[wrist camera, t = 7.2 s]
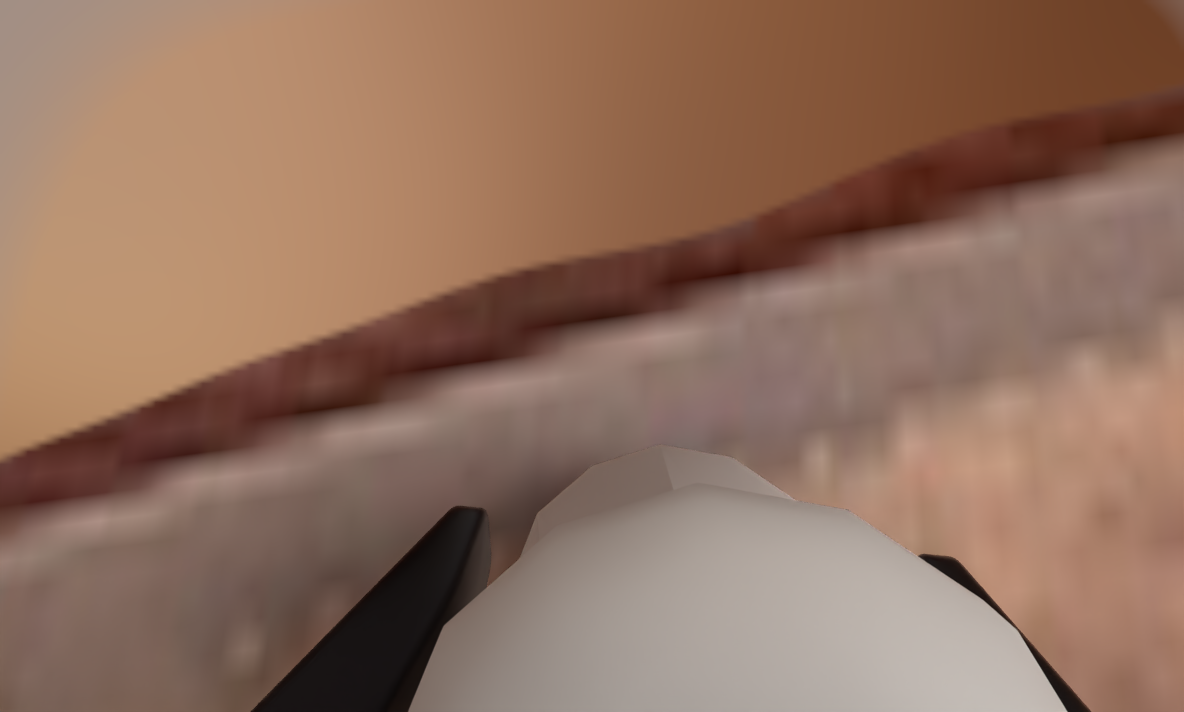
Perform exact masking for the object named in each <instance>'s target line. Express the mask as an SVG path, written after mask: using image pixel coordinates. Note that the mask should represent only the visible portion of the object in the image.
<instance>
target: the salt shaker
mask: <svg viewBox="0 0 1184 712" xmlns="http://www.w3.org/2000/svg"><path fill="white" fill-rule="evenodd" d="M408 712H1067V710H1066V709H1065V707H1064V705H1063V704H1062V702H1061V701H1060V699H1059V697H1058V696H1057V694H1056V692H1055V691H1054V689H1053V688H1052V686H1051V684H1050V683H1049V681H1048V679H1047V678H1046V676H1045V674H1044V673H1043V671H1042V670H1041V668H1040V666H1039V665H1038V663H1037V661H1036V660H1035V658H1034V657H1033V655H1032V653H1031V652H1030V650H1029V648H1028V647H1027V645H1026V644H1025V642H1024V640H1023V639H1022V637H1021V635H1020V634H1019V632H1018V630H1016V629H1015V628H1014V627H1013V626H1012V625H1011V624H1010V623H1008V622H1007V621H1006V620H1005V619H1004V618H1003V617H1002V616H1001V615H999V614H998V613H997V612H996V611H995V610H994V609H993V608H991V607H990V606H989V605H988V604H987V603H986V602H985V601H984V600H982V599H981V598H979V597H978V596H976V595H975V594H973V593H972V592H970V591H969V590H967V589H966V588H964V587H963V586H961V585H960V584H958V583H957V582H955V581H954V580H952V579H951V578H949V577H948V576H946V575H945V574H943V573H942V572H940V571H939V570H937V569H936V568H934V567H933V566H931V565H930V564H928V563H927V562H925V561H924V560H922V559H921V558H919V557H918V556H916V555H915V554H913V553H912V552H910V551H909V550H907V549H906V548H904V547H903V546H901V545H900V544H898V543H897V542H895V541H894V540H892V539H891V538H889V537H888V536H886V535H885V534H883V533H882V532H880V531H879V530H877V529H876V528H874V527H873V526H871V525H870V524H868V523H867V522H865V521H864V520H862V519H861V518H859V517H858V516H856V515H855V514H853V513H852V512H850V511H849V510H847V509H841V508H836V507H830V506H825V505H819V504H814V503H808V502H802V501H797V500H794V499H793V498H792V497H790V496H789V495H787V494H786V493H784V492H783V491H781V490H780V489H778V488H777V487H775V486H774V485H772V484H771V483H770V482H768V481H767V480H765V479H764V478H762V477H761V476H759V475H758V474H756V473H755V472H753V471H752V470H750V469H749V468H747V467H746V466H744V465H743V464H742V463H740V462H739V461H737V460H736V459H734V458H733V457H728V456H722V455H717V454H711V453H706V452H700V451H694V450H689V449H683V448H678V447H672V446H666V445H661V444H659V445H656V446H653V447H650V448H647V449H643V450H640V451H637V452H634V453H631V454H627V455H624V456H621V457H618V458H615V459H612V460H608V461H605V462H602V463H599V464H596V465H592V466H591V467H590V468H589V469H588V470H586V471H585V472H584V473H583V474H582V475H581V476H580V477H578V478H577V479H576V480H575V481H574V482H573V483H571V484H570V485H569V486H568V487H567V488H566V489H565V490H563V491H562V492H561V493H560V494H559V495H558V496H557V497H555V498H554V499H553V500H552V501H551V502H550V503H548V504H547V505H546V506H545V507H544V508H543V509H542V510H540V511H539V512H538V513H537V515H536V518H535V520H534V523H533V525H532V528H531V530H530V533H529V536H528V538H527V541H526V543H525V546H524V549H523V551H522V554H521V556H520V558H519V559H518V560H517V561H516V562H515V563H514V564H513V565H512V566H510V567H509V568H508V569H507V570H506V571H505V572H504V573H503V574H501V575H500V576H499V577H498V578H497V579H496V580H495V581H494V582H492V583H491V584H490V585H489V586H488V587H487V588H486V589H485V590H483V591H482V592H481V593H480V594H479V595H478V596H477V597H476V598H474V599H473V600H472V601H471V602H470V603H469V604H468V605H467V606H465V607H464V608H463V609H462V610H461V611H460V612H459V613H458V614H456V615H455V616H454V617H453V618H452V619H451V620H450V621H448V622H447V623H446V624H445V625H444V626H443V628H442V631H441V633H440V635H439V638H438V640H437V643H436V645H435V647H434V650H433V652H432V655H431V657H430V659H429V662H428V664H427V667H426V669H425V672H424V674H423V676H422V679H421V681H420V684H419V686H418V689H417V691H416V694H415V696H414V699H413V701H412V703H411V706H410V708H409V711H408Z"/></svg>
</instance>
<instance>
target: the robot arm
mask: <svg viewBox="0 0 1184 712" xmlns="http://www.w3.org/2000/svg"><path fill="white" fill-rule="evenodd" d="M918 557H919V558H921V559H922V560H924V561H925V562H927V563H928V564H930V565H931V566H933V567H934V568H936V569H937V570H939V571H940V572H942V573H943V574H945V575H946V576H948V577H949V578H951V579H952V580H954V581H955V582H957V583H958V584H960V585H961V586H963V587H964V588H966V589H967V590H969V591H970V592H972V593H973V594H975V595H976V596H978V597H979V598H981V599H982V600H984V601H985V602H986V603H987V604H988V605H989V606H990V607H991V608H993V609H994V610H995V611H996V612H997V613H998V614H999V615H1001V616H1002V617H1003V618H1004V619H1005V620H1006V621H1007V622H1008V623H1010V624H1011V625H1012V626H1013V627H1014V628H1015V629H1016V630H1018V632H1019V634H1020V635H1021V637H1022V639H1023V640H1024V642H1025V644H1026V645H1027V647H1028V648H1029V650H1030V652H1031V653H1032V655H1033V657H1034V658H1035V660H1036V661H1037V663H1038V665H1039V666H1040V668H1041V670H1042V671H1043V673H1044V674H1045V676H1046V678H1047V679H1048V681H1049V683H1050V684H1051V686H1052V688H1053V689H1054V691H1055V692H1056V694H1057V696H1058V697H1059V699H1060V701H1061V702H1062V704H1063V705H1064V707H1065V709H1066V710H1067V712H1091V711H1090V710H1089V708H1088V707H1087V706H1086V705H1085V704H1084V703H1083V702H1082V700H1081V699H1080V698H1079V697H1078V696H1077V695H1076V694H1075V693H1074V691H1073V690H1072V689H1071V688H1070V687H1069V686H1068V685H1067V683H1066V682H1065V681H1064V680H1063V679H1062V678H1061V677H1060V675H1059V674H1058V673H1057V672H1056V671H1055V670H1054V669H1053V668H1052V666H1051V665H1050V664H1049V663H1048V662H1047V661H1046V660H1045V658H1044V657H1043V656H1042V655H1041V654H1040V653H1039V652H1038V650H1037V649H1036V648H1035V647H1034V646H1033V645H1032V644H1031V642H1030V641H1029V640H1028V639H1027V638H1026V637H1025V636H1024V635H1023V633H1022V632H1021V631H1020V630H1019V629H1018V628H1017V627H1016V625H1015V624H1014V623H1013V622H1012V621H1011V620H1010V619H1009V617H1008V616H1007V615H1006V614H1005V613H1004V612H1003V611H1002V609H1001V608H1000V607H999V606H998V605H997V604H996V603H995V602H994V600H993V599H992V598H991V597H990V596H989V595H988V594H987V592H986V591H985V590H984V589H983V588H982V587H981V586H980V584H979V583H978V582H977V581H976V580H975V579H974V578H973V576H972V575H971V574H970V573H969V572H968V571H967V570H966V569H965V567H964V566H963V565H962V564H961V563H960V562H959V561H958V560H956V559H955V558H953V557H949V556H941V555H931V554H920V555H919V556H918ZM490 565H491V544H490V532H489V519H488V514H487V512H486V510H485V509H482V508H476V507H467V506H455V507H453V508H451V509H450V510H449V511H448V512H447V513H446V514H445V515H444V516H443V517H442V518H441V519H440V520H439V521H438V522H437V523H436V524H435V525H434V526H433V527H432V528H431V529H430V530H429V531H428V532H427V533H426V534H425V535H424V536H423V537H422V538H421V539H420V540H419V541H418V542H417V543H416V544H415V545H414V546H413V547H412V548H411V550H410V551H409V552H408V553H407V554H406V555H405V556H404V557H403V558H402V559H401V560H400V561H399V562H398V563H397V564H396V565H395V566H394V567H393V568H392V569H391V570H390V571H389V572H388V573H387V574H386V575H385V576H384V577H383V578H382V579H381V580H380V581H379V582H378V583H377V584H376V585H375V586H374V587H373V588H372V589H371V590H370V591H369V592H368V593H367V594H366V595H365V596H364V597H363V598H362V599H361V600H360V601H359V602H358V603H357V604H356V605H355V606H354V607H353V608H352V609H351V610H350V611H349V612H348V613H347V614H346V615H345V616H344V617H343V618H342V619H341V620H340V621H339V623H338V624H337V625H336V626H335V627H334V628H333V629H332V630H331V631H330V632H329V633H328V634H327V635H326V636H325V637H324V638H323V639H322V640H321V641H320V642H319V643H318V644H317V645H316V646H315V647H314V648H313V649H312V650H311V651H310V652H309V653H308V654H307V655H306V656H305V657H304V658H303V659H302V660H301V661H300V662H299V663H298V664H297V665H296V666H295V667H294V668H293V669H292V670H291V671H290V672H289V673H288V674H287V675H286V676H285V677H284V678H283V679H282V680H281V681H280V682H279V683H278V684H277V685H276V686H275V687H274V688H273V689H272V690H271V691H270V692H269V693H268V695H267V696H266V697H265V698H264V699H263V700H262V701H261V702H260V703H259V704H258V705H257V706H256V707H255V708H254V709H253V710H252V711H251V712H408V711H409V708H410V706H411V703H412V701H413V699H414V696H415V694H416V691H417V689H418V686H419V684H420V681H421V679H422V676H423V674H424V672H425V669H426V667H427V664H428V662H429V659H430V657H431V655H432V652H433V650H434V647H435V645H436V643H437V640H438V638H439V635H440V633H441V631H442V628H443V626H444V625H445V624H446V623H447V622H448V621H450V620H451V619H452V618H453V617H454V616H455V615H456V614H458V613H459V612H460V611H461V610H462V609H463V608H464V607H465V606H467V605H468V604H469V603H470V602H471V601H472V600H473V599H474V598H476V597H477V596H478V595H479V594H480V593H481V592H482V591H483V590H485V589H486V587H487V582H488V577H489V572H490Z"/></svg>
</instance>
